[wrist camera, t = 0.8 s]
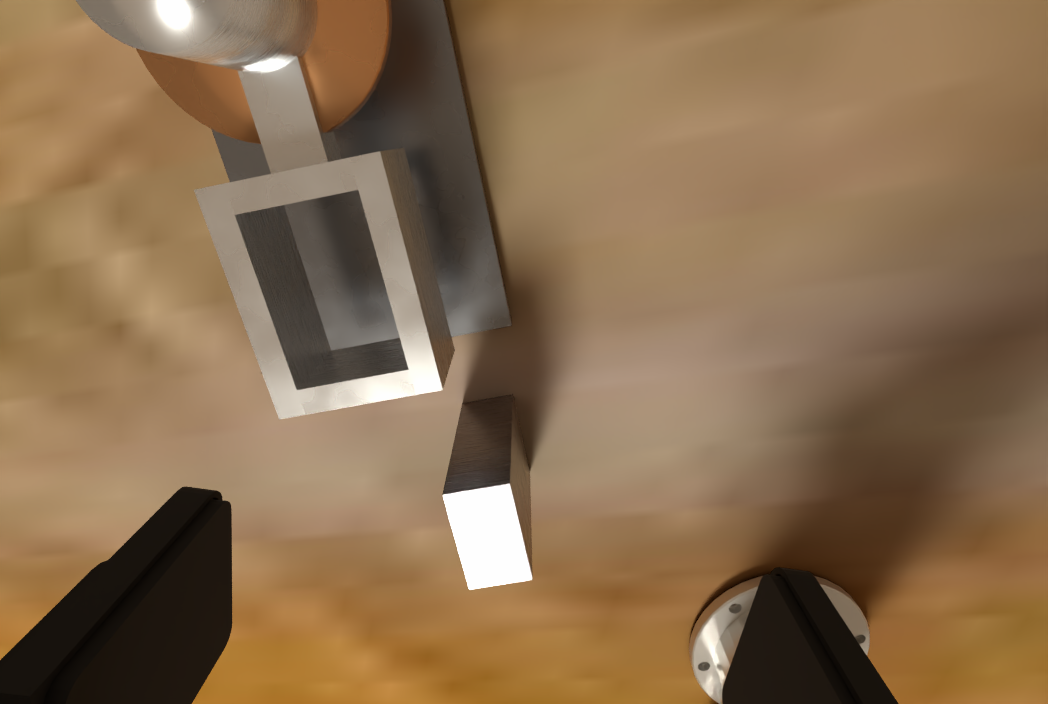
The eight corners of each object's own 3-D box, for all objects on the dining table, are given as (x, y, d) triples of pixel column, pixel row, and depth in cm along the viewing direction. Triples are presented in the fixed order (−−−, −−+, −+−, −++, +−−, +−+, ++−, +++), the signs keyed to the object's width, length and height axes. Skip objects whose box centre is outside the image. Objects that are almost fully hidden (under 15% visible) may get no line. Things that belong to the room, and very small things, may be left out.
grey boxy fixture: (511, 320, 35) (505, 445, 21) (300, 359, 36) (160, 505, 22) (421, -112, 28) (320, -354, 14) (158, -50, 29) (-186, -220, 15)
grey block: (529, 471, 39) (532, 579, 30) (481, 479, 39) (469, 589, 30) (512, 394, 37) (509, 483, 28) (462, 403, 37) (442, 495, 28)
